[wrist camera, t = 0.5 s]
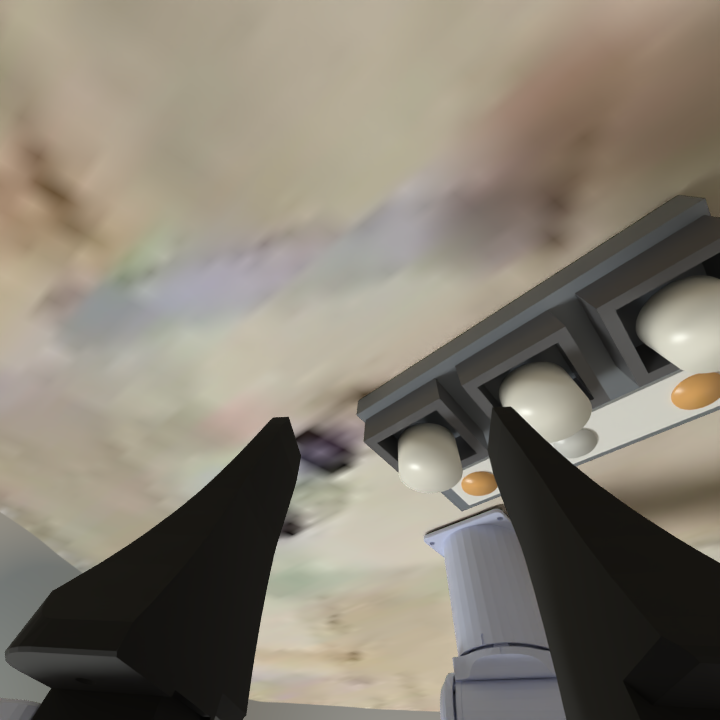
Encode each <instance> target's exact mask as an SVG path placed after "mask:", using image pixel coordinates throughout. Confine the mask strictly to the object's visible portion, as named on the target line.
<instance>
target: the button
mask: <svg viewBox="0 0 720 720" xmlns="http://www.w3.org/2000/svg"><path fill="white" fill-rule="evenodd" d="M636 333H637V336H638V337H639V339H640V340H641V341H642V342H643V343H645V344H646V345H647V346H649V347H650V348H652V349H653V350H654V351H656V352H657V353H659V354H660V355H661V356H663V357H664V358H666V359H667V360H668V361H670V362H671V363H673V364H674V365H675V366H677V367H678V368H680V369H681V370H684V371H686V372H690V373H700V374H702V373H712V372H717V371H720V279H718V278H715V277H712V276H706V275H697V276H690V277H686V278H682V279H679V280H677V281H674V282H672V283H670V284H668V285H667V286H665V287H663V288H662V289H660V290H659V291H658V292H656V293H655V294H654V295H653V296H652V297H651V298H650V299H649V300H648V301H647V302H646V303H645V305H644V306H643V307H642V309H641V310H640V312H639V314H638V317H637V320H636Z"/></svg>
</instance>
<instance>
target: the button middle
mask: <svg viewBox="0 0 720 720" xmlns="http://www.w3.org/2000/svg"><path fill="white" fill-rule="evenodd" d="M499 399H500V402H501V404H502V406H503V407H510V406H511V407H512V408H513V409H514V410H515V411H516V412H517V413H518V414H519V415H520V416H521V417H522V418H523V419H525V420H526V421H527V422H528V423H529V424H530V425H531V426H532V427H533V428H534V429H535V430H536V431H537V432H538V433H539V434H540V435H541V436H542V437H543V438H544V439H545V440H546V441H547V442H548V443H553V442H558V441H561V440H564V439H566V438H568V437H571V436H572V435H574V434H576V433H577V432H578V431H580V430H581V429H582V428H583V427H584V426H585V425H586V423H587V422H588V420H589V418H590V416H591V412H592V405H591V402H590V400H589V398H588V397H587V396H586V395H585V394H584V392H583V391H582V390H581V389H580V388H579V387H578V385H577V384H576V383H575V382H574V381H573V379H572V378H571V377H570V376H569V375H568V373H567V372H566V371H565V370H564V369H563V368H562V367H560V366H559V365H556V364H554V363H550V362H533V363H528V364H525V365H523V366H520V367H518V368H516V369H515V370H513V371H512V372H511V373H509V374H508V375H507V376H506V378H505V379H504V380H503V382H502V383H501V386H500V389H499Z"/></svg>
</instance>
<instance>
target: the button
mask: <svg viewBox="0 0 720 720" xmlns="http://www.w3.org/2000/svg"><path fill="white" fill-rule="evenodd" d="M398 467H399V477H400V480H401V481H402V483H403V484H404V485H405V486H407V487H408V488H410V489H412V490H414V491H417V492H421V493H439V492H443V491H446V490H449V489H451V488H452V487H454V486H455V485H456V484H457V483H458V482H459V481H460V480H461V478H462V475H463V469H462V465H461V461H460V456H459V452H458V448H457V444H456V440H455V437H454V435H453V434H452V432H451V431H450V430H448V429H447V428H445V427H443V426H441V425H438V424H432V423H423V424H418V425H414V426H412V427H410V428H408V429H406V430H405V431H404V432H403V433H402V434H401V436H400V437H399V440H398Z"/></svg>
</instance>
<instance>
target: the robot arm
mask: <svg viewBox="0 0 720 720" xmlns="http://www.w3.org/2000/svg"><path fill="white" fill-rule="evenodd" d="M487 450H488V455H489V459H490V463H491V467H492V471H493V474H494V478H495V481H496V484H497V486H498V489H499V491H500V494H501V497H502V499H503V502H504V505H505V507H506V510H507V512H508V515H509V517H510V518H509V517H508V516H507V515H506V514H505V513H504V512H503V511H502V510H500V509H492V510H490V511H487V512H484V513H482V514H479V515H476V516H474V517H471V518H469V519H466V520H463V521H461V522H458V523H455V524H453V525H450V526H448V527H445V528H442V529H440V530H437V531H434V532H432V533H429V534H427V535H425V536H424V542H425V543H427V544H428V545H429V546H430V547H432V548H433V549H434V550H435V551H437V552H438V553H439V554H440V555H442V556H443V557H444V558H445V565H446V572H447V579H448V586H449V593H450V600H451V607H452V615H453V622H454V629H455V636H456V643H457V650H458V657H453V666H454V673H448V675H447V676H446V679H445V682H444V684H443V686H442V689H441V696H440V715H441V720H720V563H719V562H717V561H715V560H714V559H712V558H710V557H708V556H707V555H705V554H703V553H701V552H700V551H698V550H696V549H694V548H693V547H691V546H689V545H688V544H686V543H685V542H683V541H681V540H680V539H678V538H676V537H675V536H673V535H671V534H670V533H668V532H667V531H665V530H664V529H662V528H660V527H659V526H657V525H656V524H654V523H653V522H651V521H650V520H648V519H646V518H645V517H643V516H642V515H640V514H639V513H637V512H636V511H634V510H633V509H631V508H630V507H628V506H627V505H626V504H624V503H623V502H621V501H620V500H619V499H617V498H616V497H615V496H613V495H612V494H610V493H609V492H608V491H606V490H605V489H603V488H602V487H601V486H599V485H598V484H597V483H596V482H594V481H593V480H592V479H590V478H589V477H588V476H587V475H585V474H584V473H583V472H582V471H581V470H579V469H578V468H577V467H576V466H574V465H573V464H572V463H571V462H570V461H569V460H567V459H566V458H565V457H564V456H563V455H562V454H561V453H560V452H558V451H557V450H556V449H555V448H554V447H553V446H552V445H551V444H550V443H548V442H547V441H546V440H545V439H544V438H543V437H542V436H541V435H540V434H539V433H538V432H537V431H536V430H535V429H534V428H533V427H532V426H531V425H530V424H529V423H528V422H527V421H526V420H525V419H523V418H522V417H521V416H520V415H519V414H518V413H517V412H516V411H515V410H514V409H513V408H512V407H511V406H510V407H492V413H491V422H490V431H489V440H488V449H487ZM300 458H301V454H300V451H299V448H298V445H297V442H296V439H295V435H294V432H293V429H292V426H291V423H290V420H289V417H276V418H272V419H271V420H270V421H269V422H268V423H267V424H266V425H265V426H264V428H263V429H262V430H261V431H260V432H259V433H258V434H257V435H256V436H255V437H254V438H253V439H252V441H251V442H250V443H249V444H248V445H247V446H246V447H245V448H244V449H243V450H242V451H241V452H240V453H239V454H238V455H237V456H236V457H235V458H234V459H233V460H232V461H231V462H230V463H229V464H228V465H227V466H226V467H225V468H224V469H223V470H222V471H221V472H220V473H219V474H218V475H217V476H216V477H215V478H214V479H213V480H212V481H211V482H209V483H208V484H207V485H206V486H205V487H204V488H203V489H202V490H201V491H199V492H198V493H197V494H196V495H195V496H193V497H192V498H191V499H190V500H189V501H187V502H186V503H185V504H184V505H183V506H181V507H180V508H179V509H178V510H176V511H175V512H174V513H172V514H171V515H170V516H168V517H167V518H166V519H164V520H163V521H162V522H160V523H159V524H158V525H156V526H155V527H153V528H152V529H151V530H149V531H148V532H147V533H145V534H144V535H142V536H141V537H139V538H138V539H137V540H135V541H134V542H132V543H131V544H129V545H128V546H126V547H125V548H123V549H121V550H120V551H118V552H117V553H115V554H114V555H112V556H111V557H109V558H107V559H106V560H104V561H103V562H101V563H99V564H98V565H96V566H94V567H93V568H91V569H89V570H88V571H86V572H84V573H83V574H81V575H79V576H77V577H76V578H74V579H72V580H71V581H69V582H67V583H66V584H64V585H62V586H60V587H59V588H57V589H55V590H53V591H52V592H51V593H50V595H49V596H48V597H47V598H46V600H45V601H44V603H43V604H42V605H41V606H40V607H39V609H38V610H37V611H36V612H35V614H34V615H33V616H32V618H31V619H30V620H29V621H28V623H27V624H26V625H25V627H24V628H23V629H22V631H21V632H20V633H19V634H18V636H17V637H16V638H15V639H14V641H13V642H12V643H11V645H10V646H9V647H8V648H7V650H6V651H5V658H6V662H7V663H8V664H9V665H10V666H12V667H13V668H15V669H17V670H18V671H20V672H22V673H24V674H26V675H28V676H30V677H31V678H33V679H35V680H37V681H39V682H41V683H43V684H45V685H46V686H49V687H50V688H51V690H50V691H49V693H48V694H47V696H46V697H45V699H44V700H43V702H42V704H40V703H37V702H33V701H27V700H18V699H6V698H0V720H243V718H244V717H245V716H246V713H247V705H248V698H249V691H250V684H251V677H252V670H253V664H254V657H255V651H256V645H257V639H258V633H259V627H260V622H261V616H262V611H263V606H264V601H265V595H266V590H267V585H268V580H269V576H270V571H271V566H272V562H273V557H274V553H275V550H276V546H277V542H278V539H279V536H280V533H281V530H282V526H283V523H284V520H285V517H286V514H287V511H288V507H289V504H290V501H291V498H292V494H293V491H294V488H295V484H296V481H297V475H298V470H299V464H300Z"/></svg>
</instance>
